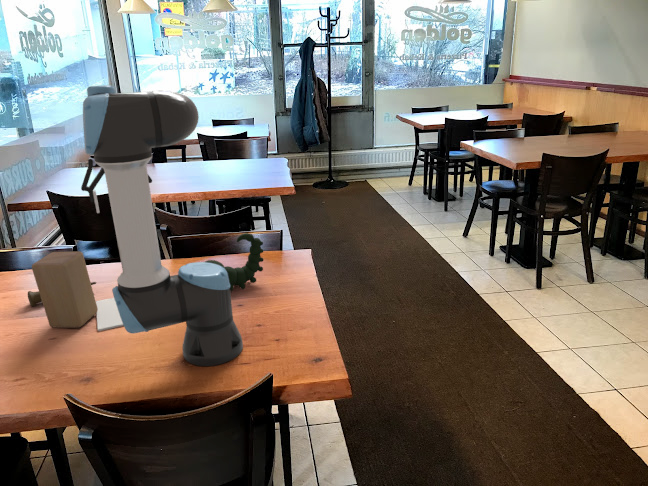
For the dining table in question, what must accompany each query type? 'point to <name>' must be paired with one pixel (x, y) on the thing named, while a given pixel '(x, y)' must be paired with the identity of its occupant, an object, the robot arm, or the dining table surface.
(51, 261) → the wooden block
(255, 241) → the toy figurine
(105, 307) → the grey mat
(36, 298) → the kendama
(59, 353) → the dining table surface
